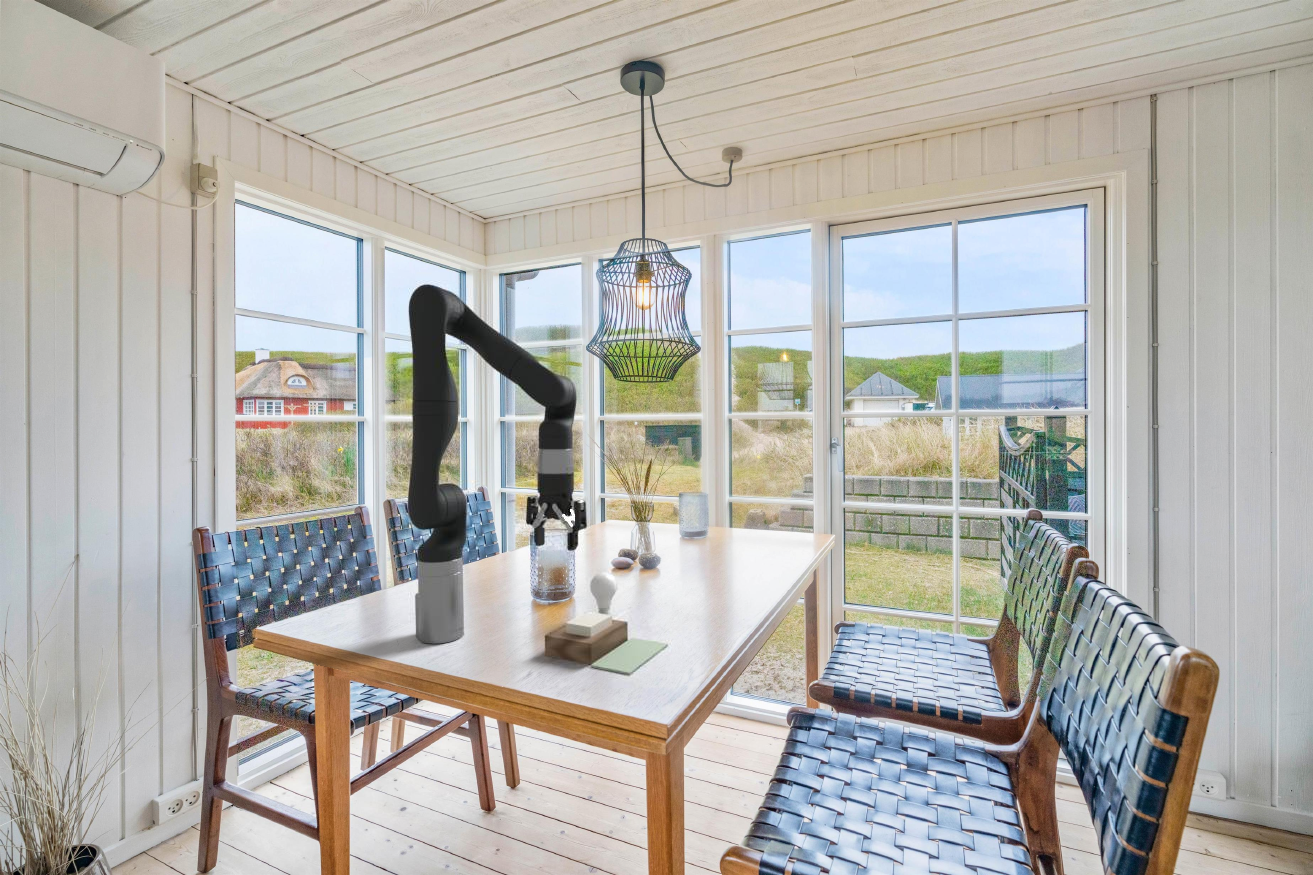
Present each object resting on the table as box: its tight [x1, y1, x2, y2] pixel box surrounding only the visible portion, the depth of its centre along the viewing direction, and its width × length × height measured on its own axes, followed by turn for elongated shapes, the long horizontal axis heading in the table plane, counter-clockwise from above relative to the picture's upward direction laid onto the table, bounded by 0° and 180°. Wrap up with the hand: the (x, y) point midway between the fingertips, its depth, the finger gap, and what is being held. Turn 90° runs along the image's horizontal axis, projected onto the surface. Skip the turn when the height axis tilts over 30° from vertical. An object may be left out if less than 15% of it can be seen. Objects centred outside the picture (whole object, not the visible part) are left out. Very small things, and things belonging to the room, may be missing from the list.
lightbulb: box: [589, 571, 618, 615], centre depth 142 cm, size 6×6×11 cm
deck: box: [544, 619, 629, 666], centre depth 124 cm, size 11×14×4 cm
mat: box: [590, 637, 669, 676], centre depth 119 cm, size 8×16×1 cm, turn 153°
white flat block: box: [565, 611, 613, 637], centre depth 123 cm, size 6×8×2 cm
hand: (555, 547), depth 126 cm, fingers open, 8 cm apart
